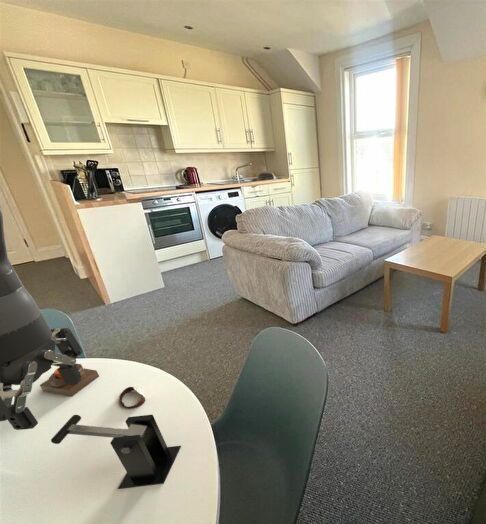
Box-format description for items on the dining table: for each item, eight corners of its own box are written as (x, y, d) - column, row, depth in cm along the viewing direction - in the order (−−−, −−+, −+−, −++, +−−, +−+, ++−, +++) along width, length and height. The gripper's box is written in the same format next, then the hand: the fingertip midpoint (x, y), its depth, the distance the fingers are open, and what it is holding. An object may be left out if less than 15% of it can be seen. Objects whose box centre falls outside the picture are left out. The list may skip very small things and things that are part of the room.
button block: (43, 391, 75) (35, 380, 74) (71, 371, 81) (65, 361, 80) (72, 396, 73) (65, 385, 71) (99, 376, 79) (93, 365, 78)
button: (53, 377, 74) (50, 372, 74) (68, 367, 78) (65, 362, 77) (64, 379, 74) (61, 374, 73) (78, 369, 77) (76, 364, 76)
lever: (51, 445, 48) (49, 435, 47) (73, 421, 52) (71, 412, 51) (136, 452, 50) (136, 443, 49) (151, 428, 54) (151, 419, 53)
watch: (152, 401, 70) (147, 391, 69) (130, 416, 67) (125, 405, 65) (137, 389, 74) (132, 378, 73) (116, 402, 71) (111, 391, 69)
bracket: (120, 492, 52) (94, 449, 47) (142, 453, 58) (121, 413, 54) (165, 486, 53) (144, 444, 48) (182, 449, 59) (165, 408, 54)
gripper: (23, 298, 47) (65, 373, 53) (-93, 359, 34) (-18, 448, 40) (71, 295, 48) (107, 369, 54) (-25, 353, 35) (38, 442, 41)
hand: (53, 403), depth 47 cm, fingers open, 8 cm apart
